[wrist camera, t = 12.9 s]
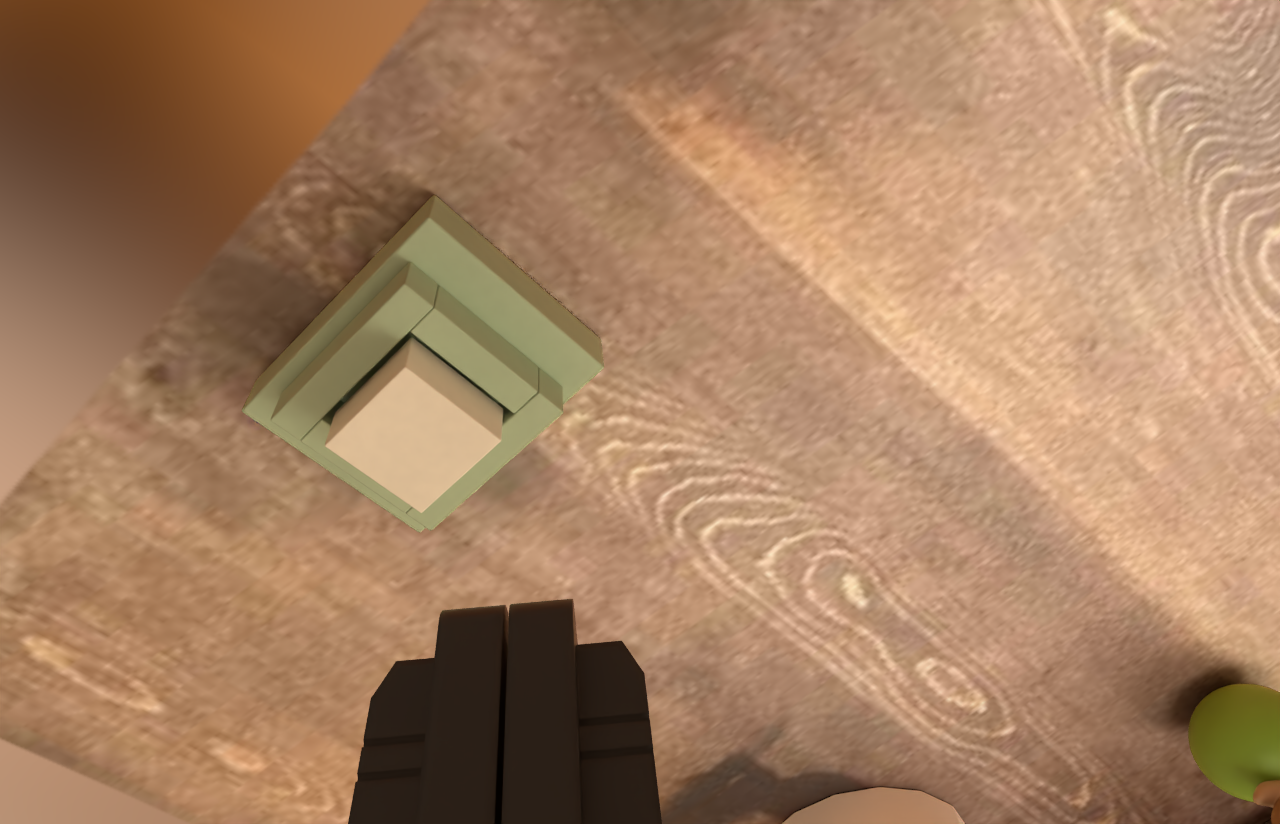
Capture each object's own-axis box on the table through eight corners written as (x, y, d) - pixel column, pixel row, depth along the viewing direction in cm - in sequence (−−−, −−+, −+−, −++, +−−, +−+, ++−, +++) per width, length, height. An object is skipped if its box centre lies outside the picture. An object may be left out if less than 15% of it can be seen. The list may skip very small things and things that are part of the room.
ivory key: (411, 336, 33) (404, 366, 32) (503, 408, 35) (502, 441, 33) (334, 412, 35) (323, 446, 33) (426, 478, 36) (421, 514, 34)
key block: (434, 193, 35) (422, 237, 31) (601, 339, 38) (608, 394, 35) (255, 380, 38) (226, 440, 34) (425, 499, 41) (414, 564, 38)
